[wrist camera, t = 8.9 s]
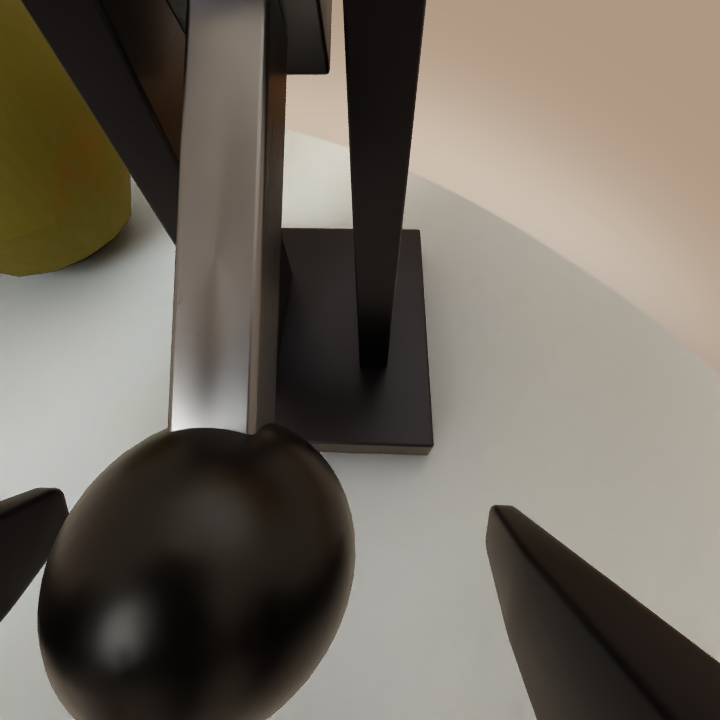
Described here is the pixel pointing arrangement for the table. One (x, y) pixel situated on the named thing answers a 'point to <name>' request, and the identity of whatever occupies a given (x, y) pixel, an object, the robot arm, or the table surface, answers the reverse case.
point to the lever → (211, 434)
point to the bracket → (298, 245)
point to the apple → (50, 159)
